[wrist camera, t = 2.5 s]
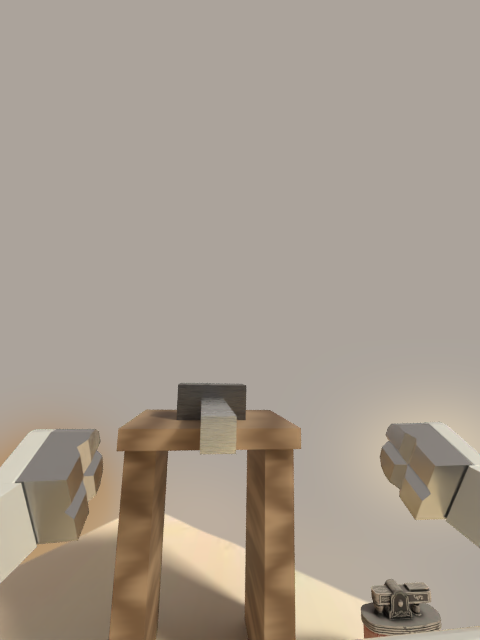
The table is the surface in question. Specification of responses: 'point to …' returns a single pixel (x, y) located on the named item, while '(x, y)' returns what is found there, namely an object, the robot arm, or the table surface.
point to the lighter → (399, 610)
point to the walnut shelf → (261, 521)
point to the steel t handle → (213, 413)
